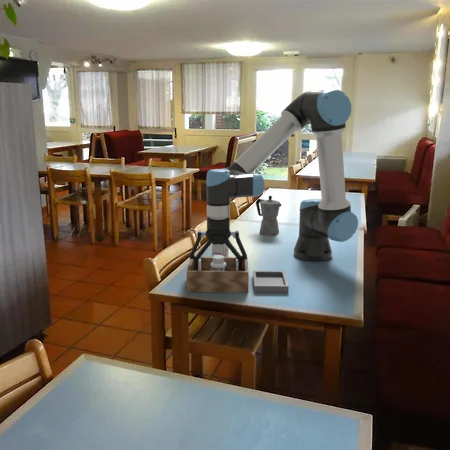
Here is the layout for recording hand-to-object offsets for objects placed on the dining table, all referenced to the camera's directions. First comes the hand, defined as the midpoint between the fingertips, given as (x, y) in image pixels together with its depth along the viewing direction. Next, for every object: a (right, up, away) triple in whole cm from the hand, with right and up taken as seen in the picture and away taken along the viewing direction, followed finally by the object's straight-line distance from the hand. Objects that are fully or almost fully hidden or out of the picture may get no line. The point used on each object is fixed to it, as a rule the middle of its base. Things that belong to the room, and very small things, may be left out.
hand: (218, 278), depth 156 cm
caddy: (0, -2, 0) cm, 2 cm away
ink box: (+1, +3, +18) cm, 19 cm away
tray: (+18, -2, 0) cm, 18 cm away
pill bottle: (0, -2, +1) cm, 2 cm away
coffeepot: (+23, +14, +63) cm, 69 cm away
